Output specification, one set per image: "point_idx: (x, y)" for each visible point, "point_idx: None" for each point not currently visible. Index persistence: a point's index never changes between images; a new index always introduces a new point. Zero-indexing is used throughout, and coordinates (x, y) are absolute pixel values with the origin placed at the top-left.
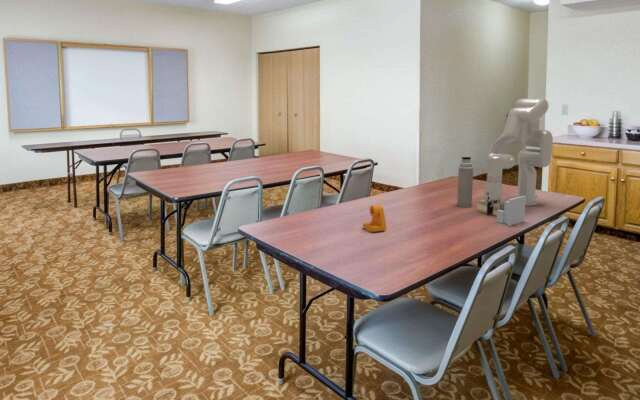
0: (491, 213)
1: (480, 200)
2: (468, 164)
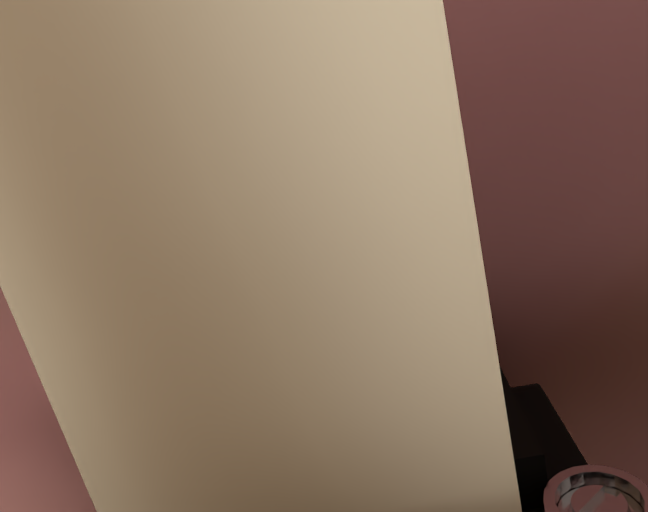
0: None
1: (82, 25)
2: None
